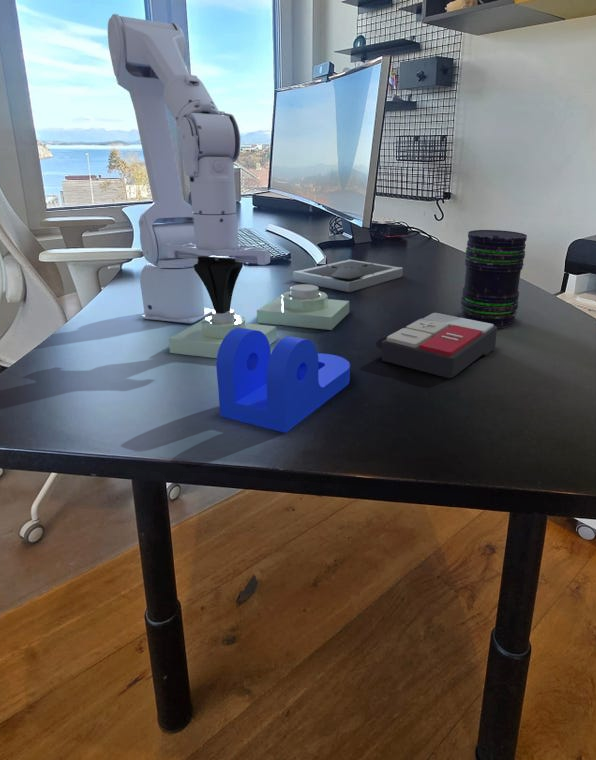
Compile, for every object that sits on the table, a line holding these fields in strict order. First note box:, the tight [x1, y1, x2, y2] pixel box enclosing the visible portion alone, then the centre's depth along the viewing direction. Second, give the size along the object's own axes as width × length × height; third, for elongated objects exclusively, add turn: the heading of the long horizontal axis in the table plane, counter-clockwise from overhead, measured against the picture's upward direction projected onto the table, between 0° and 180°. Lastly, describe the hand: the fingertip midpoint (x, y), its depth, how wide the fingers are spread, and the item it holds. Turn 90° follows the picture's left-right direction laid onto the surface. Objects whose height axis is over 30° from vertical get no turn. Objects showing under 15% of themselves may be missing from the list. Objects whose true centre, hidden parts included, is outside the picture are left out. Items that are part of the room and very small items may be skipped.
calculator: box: [381, 312, 498, 379], centre depth 79 cm, size 11×4×15 cm
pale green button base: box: [167, 314, 277, 359], centre depth 80 cm, size 12×10×4 cm
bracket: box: [215, 328, 351, 434], centre depth 64 cm, size 18×8×9 cm, turn 155°
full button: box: [289, 283, 320, 299], centre depth 94 cm, size 5×5×2 cm
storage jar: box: [459, 229, 528, 329], centre depth 94 cm, size 10×10×15 cm
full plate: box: [256, 290, 350, 331], centre depth 95 cm, size 13×11×4 cm
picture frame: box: [292, 259, 404, 293], centre depth 125 cm, size 16×3×21 cm
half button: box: [210, 308, 235, 324], centre depth 79 cm, size 3×3×2 cm
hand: (222, 311), depth 78 cm, fingers closed, pressing on half button
